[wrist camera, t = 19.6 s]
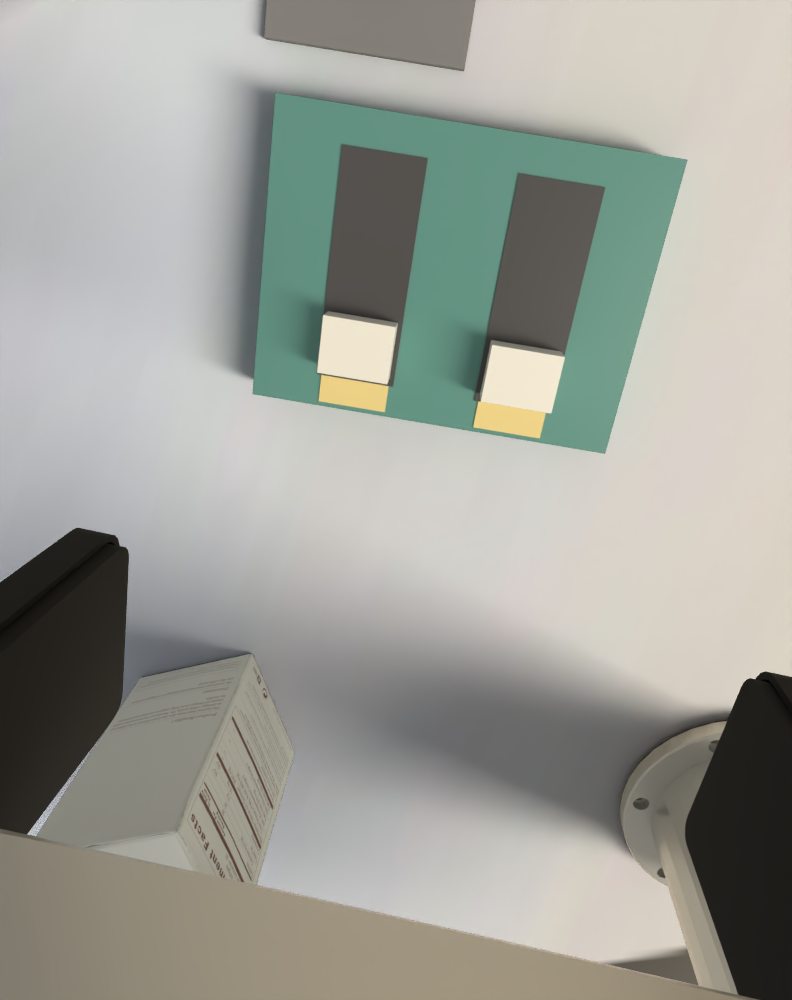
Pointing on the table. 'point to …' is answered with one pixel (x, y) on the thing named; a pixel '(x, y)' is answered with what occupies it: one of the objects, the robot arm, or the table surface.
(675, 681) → the table surface
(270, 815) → the supplement box
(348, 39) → the mat
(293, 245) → the switch panel
